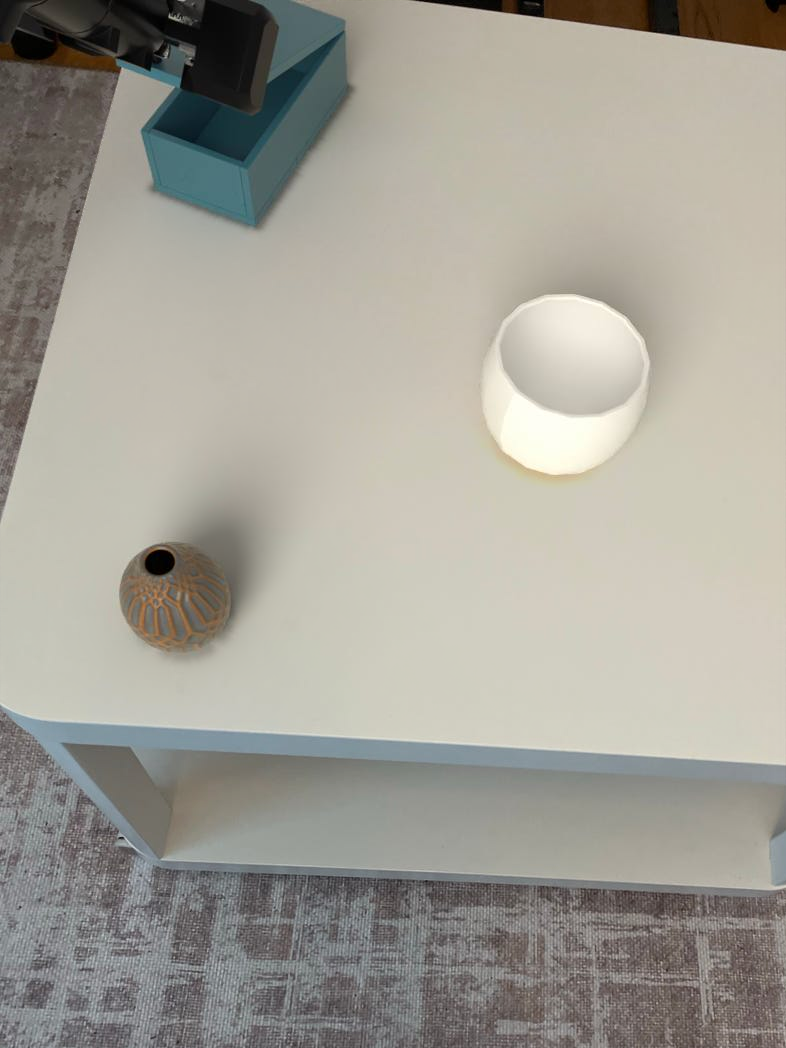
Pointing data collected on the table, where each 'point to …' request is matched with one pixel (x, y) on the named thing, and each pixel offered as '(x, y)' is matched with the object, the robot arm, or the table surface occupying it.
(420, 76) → the table surface
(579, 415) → the cup
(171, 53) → the lid
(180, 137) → the teal rectangular box
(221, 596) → the vase
